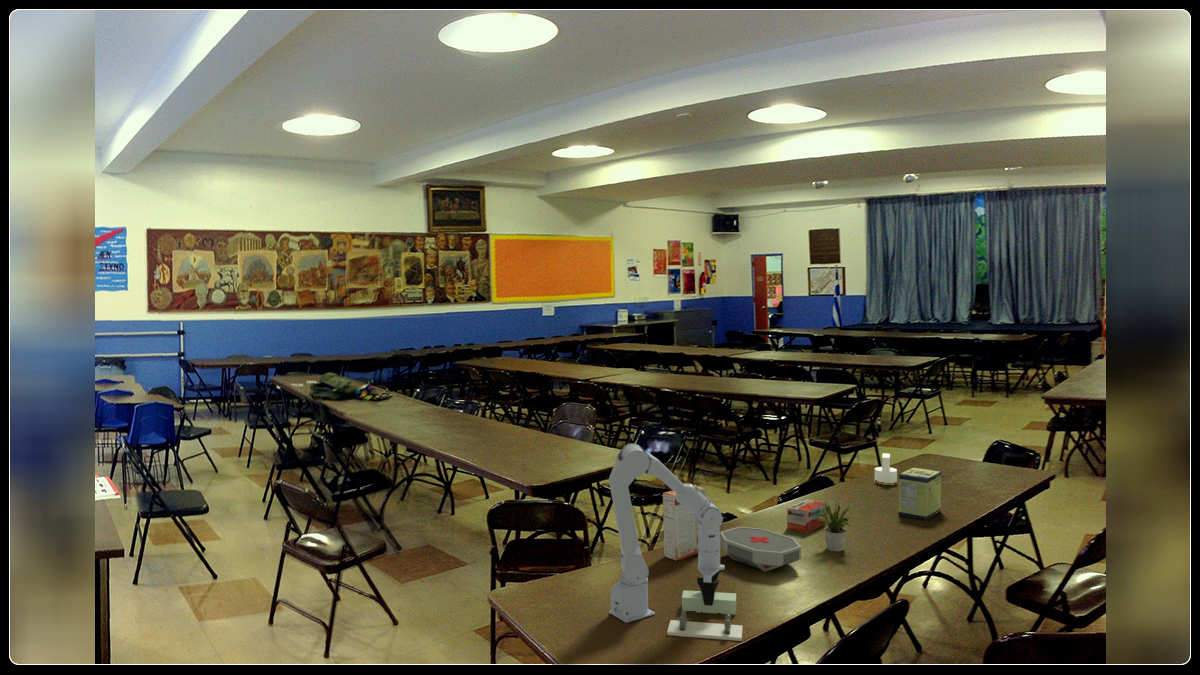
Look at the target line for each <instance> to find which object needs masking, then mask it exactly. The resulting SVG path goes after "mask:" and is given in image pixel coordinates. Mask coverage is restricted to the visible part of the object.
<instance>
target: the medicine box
mask: <svg viewBox="0 0 1200 675" xmlns="http://www.w3.org/2000/svg"><path fill="white" fill-rule="evenodd" d="M812 501H813V502H812ZM816 502H817V503H816ZM825 503H826V504H827V503H828V502H826V501H818V500H814V499H808V498H806V499H803V500H801V501H799V502H797V503H795V504H792V505H789V506H787V507H786V530H791V531H796V532H801V533H806V534H808V533H810V532H812V531H815V530H817V529H818V528H821V527H823V526H825V522H826V521H825V522H824V521H823V519H820V518H818V517H820V516H822V517H824V518H825V519H826V520H827V518H828V516H827V515H828V513H827V512H826V511H824V510H823V508H825V509H826V507H825V505H824V504H825ZM819 504H820V505H821V506H822V507H823V508H822V507H821V506H820V505H819ZM827 505H828V504H827ZM820 510H821V511H820ZM822 511H823V512H824V513H825V514H826V513H827V514H826V516H827V518H826V516H825V515H824V514H823V512H822ZM827 521H828V520H827Z"/></svg>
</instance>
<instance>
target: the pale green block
mask: <svg viewBox="0 0 1200 675" xmlns="http://www.w3.org/2000/svg"><path fill="white" fill-rule="evenodd" d="M682 610H683V611H696V612H695V613H701V612H703V613H704V614H705V613H706V614H717V613H721V614H720V615H726V614H730V615H737V593H736V592H735V593H734V592H733V593H731V592H719V591H718V592H716V591H715V594H714V601H713V605H712V606H708V605H704V602H703V597H702V592H701V590H686V589H685V590H684V589H683V590H682V595H681V611H682Z"/></svg>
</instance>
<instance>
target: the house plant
mask: <svg viewBox="0 0 1200 675" xmlns="http://www.w3.org/2000/svg"><path fill="white" fill-rule="evenodd" d="M812 502H813V501H812ZM816 503H817V502H816ZM826 503H827V504H826ZM819 505H820V504H819ZM824 505H825V507H826V509H825V508H823V507H822V506H821V505H820V506H821V507H822V508H823V510H824V511H826V512H827V513H826V514H827V516H826V514H825V513H824V512H823V511H822V512H823V514H824V515H825V516H826V518H827V520H826V519H825V518H824V517H822V516H820V517H818V518H820V519H823V521H824V522H825V521H826V522H825V525H824V526H825V528H824V529H823V532H824V538H825V544H826V549H827V550H828V551H831V552H837V553H838V552H843V551H845V550H844V548H845V543H846V538H847V532H848V530H847V529H846V528H845V526H848V527H849V528H851V523H849V521H850V518H849V517H845V515H846V514H847V513H848V512H849V511H850V510H851V511H852V510H854V509H850V508H851V507H853V506H854V505H855V503H853V504H850V505H848V506H847V507H846V508H845V509H844V510H843V511H842V513H841V515H840V512H841V507H842V506H843V504H840V503H839V499H837V500H836V503H835V505H834V512H833V513H832V510H831V506H830V504H829V502H825V504H824ZM820 511H821V510H820ZM839 516H840V517H839Z"/></svg>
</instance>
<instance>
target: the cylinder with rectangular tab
mask: <svg viewBox="0 0 1200 675" xmlns="http://www.w3.org/2000/svg"><path fill="white" fill-rule="evenodd" d="M890 465H891V453H888V452H887V453H885V452H883V453H882V456H881V466H877V467H875V468H874V481H875V480H877V481H879V482H884V483H894V482H897V483H898V469H897V468H894V467H890Z"/></svg>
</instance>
